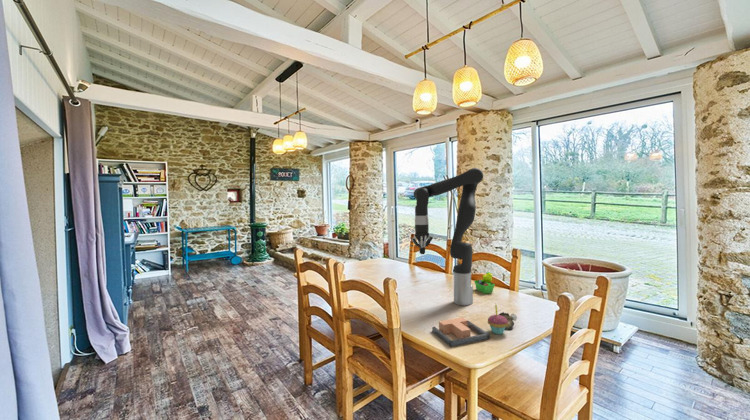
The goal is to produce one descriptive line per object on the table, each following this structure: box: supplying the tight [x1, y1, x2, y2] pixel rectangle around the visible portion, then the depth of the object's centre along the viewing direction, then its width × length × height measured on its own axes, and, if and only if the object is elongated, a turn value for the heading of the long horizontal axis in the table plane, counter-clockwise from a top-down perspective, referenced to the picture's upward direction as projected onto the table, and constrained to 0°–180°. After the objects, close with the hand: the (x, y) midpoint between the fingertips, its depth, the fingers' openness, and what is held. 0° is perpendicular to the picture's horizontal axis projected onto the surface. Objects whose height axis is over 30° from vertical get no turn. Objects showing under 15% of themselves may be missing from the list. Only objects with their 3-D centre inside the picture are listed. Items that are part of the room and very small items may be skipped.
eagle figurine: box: [498, 311, 518, 331], centre depth 145 cm, size 8×7×9 cm
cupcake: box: [487, 303, 509, 335], centre depth 139 cm, size 9×8×12 cm
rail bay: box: [431, 320, 491, 348], centre depth 137 cm, size 18×15×2 cm
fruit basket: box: [473, 271, 496, 294], centre depth 194 cm, size 11×9×11 cm
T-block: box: [438, 316, 471, 339], centre depth 139 cm, size 12×12×4 cm
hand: (422, 254), depth 181 cm, fingers closed
